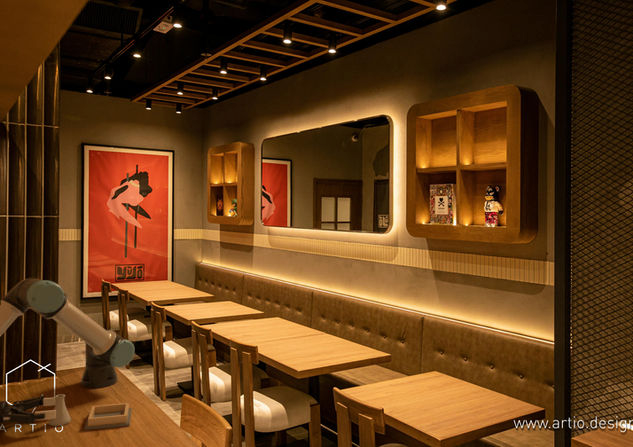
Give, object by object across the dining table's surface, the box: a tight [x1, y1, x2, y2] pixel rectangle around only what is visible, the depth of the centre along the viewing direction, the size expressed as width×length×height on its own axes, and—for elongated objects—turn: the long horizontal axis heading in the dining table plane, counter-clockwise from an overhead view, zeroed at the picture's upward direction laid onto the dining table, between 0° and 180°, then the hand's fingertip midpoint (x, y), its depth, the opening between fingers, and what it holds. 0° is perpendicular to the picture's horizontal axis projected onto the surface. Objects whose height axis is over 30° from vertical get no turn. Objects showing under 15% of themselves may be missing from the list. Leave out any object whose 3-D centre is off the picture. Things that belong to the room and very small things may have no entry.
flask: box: [48, 393, 72, 427], centre depth 191 cm, size 7×7×10 cm
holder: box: [84, 402, 133, 431], centre depth 194 cm, size 15×15×4 cm
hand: (59, 407), depth 190 cm, fingers open, 13 cm apart
